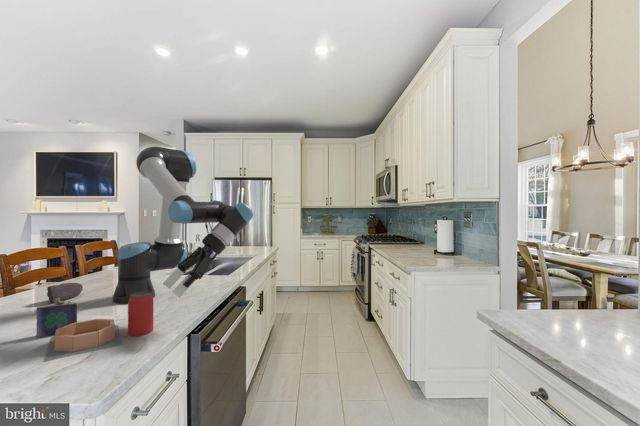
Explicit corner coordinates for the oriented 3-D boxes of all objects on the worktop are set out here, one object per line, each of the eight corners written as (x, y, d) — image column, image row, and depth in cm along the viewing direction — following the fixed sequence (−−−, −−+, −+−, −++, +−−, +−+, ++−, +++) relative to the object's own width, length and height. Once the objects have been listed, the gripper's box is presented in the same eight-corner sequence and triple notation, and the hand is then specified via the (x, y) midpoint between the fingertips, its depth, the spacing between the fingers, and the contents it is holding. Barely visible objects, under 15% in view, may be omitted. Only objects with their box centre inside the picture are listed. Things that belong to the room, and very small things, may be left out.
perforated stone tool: (77, 294, 134) (77, 278, 134) (87, 295, 133) (87, 279, 133) (40, 304, 119) (41, 286, 120) (52, 305, 119) (52, 287, 119)
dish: (57, 338, 86) (57, 325, 86) (112, 328, 94) (112, 316, 94) (53, 355, 76) (53, 340, 76) (115, 342, 83) (115, 328, 83)
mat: (51, 338, 87) (51, 337, 87) (117, 326, 97) (117, 324, 97) (43, 363, 73) (43, 361, 73) (123, 345, 82) (123, 344, 82)
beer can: (141, 338, 87) (141, 297, 87) (122, 336, 88) (122, 295, 88) (158, 330, 94) (158, 291, 94) (139, 328, 95) (140, 290, 95)
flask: (35, 339, 86) (35, 301, 86) (38, 335, 89) (38, 299, 89) (76, 333, 91) (76, 297, 91) (78, 330, 94) (78, 295, 94)
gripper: (240, 250, 96) (190, 306, 87) (213, 244, 116) (170, 289, 106) (223, 234, 93) (170, 291, 84) (199, 230, 112) (153, 276, 103)
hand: (170, 290), depth 95 cm, fingers open, 13 cm apart
